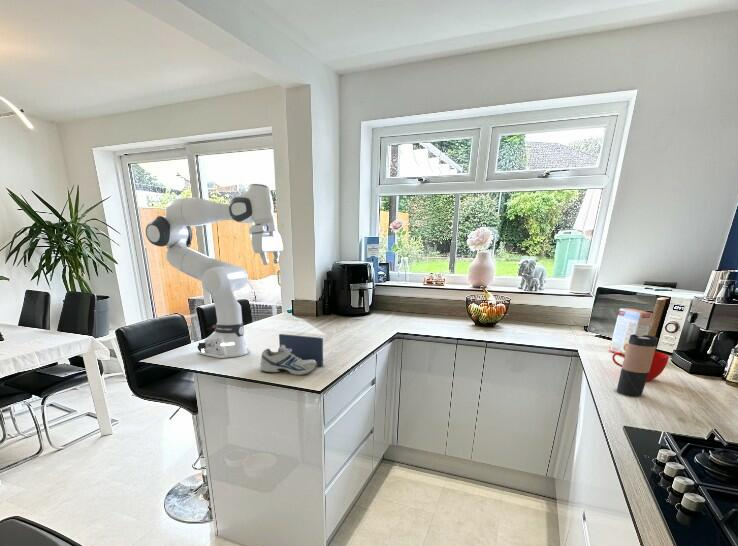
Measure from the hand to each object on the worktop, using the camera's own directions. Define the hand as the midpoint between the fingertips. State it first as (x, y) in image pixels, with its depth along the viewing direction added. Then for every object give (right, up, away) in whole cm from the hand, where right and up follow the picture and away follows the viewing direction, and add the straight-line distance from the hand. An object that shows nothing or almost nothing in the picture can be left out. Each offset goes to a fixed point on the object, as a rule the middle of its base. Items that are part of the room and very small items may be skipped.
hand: (271, 264), depth 163 cm
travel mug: (+128, -53, -25) cm, 141 cm away
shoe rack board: (+12, -41, +6) cm, 43 cm away
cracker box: (+161, -36, +23) cm, 167 cm away
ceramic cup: (+142, -47, -9) cm, 150 cm away
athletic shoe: (+7, -44, -4) cm, 45 cm away
